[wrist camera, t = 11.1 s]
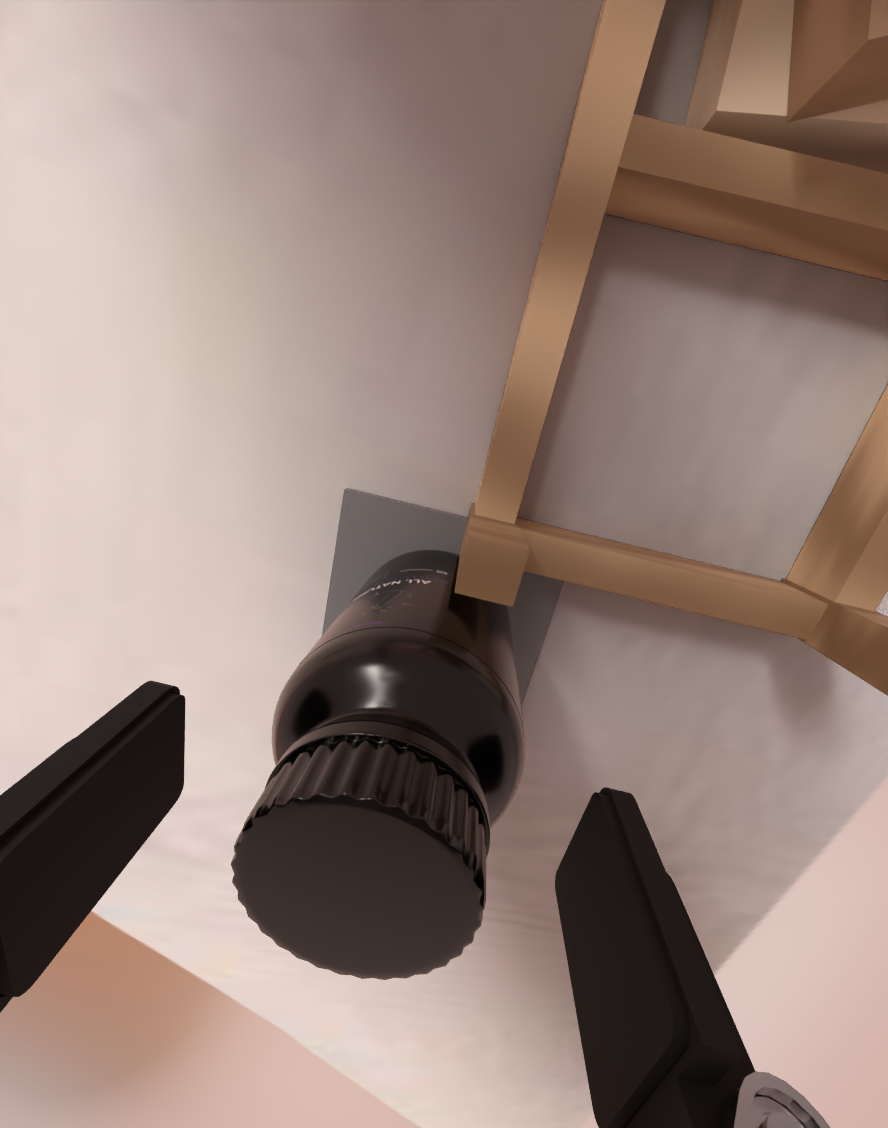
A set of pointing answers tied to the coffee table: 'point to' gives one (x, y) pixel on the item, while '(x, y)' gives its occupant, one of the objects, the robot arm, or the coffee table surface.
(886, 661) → the rack
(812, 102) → the offcut
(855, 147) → the offcut
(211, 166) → the coffee table surface
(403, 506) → the mat
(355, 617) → the supplement bottle
